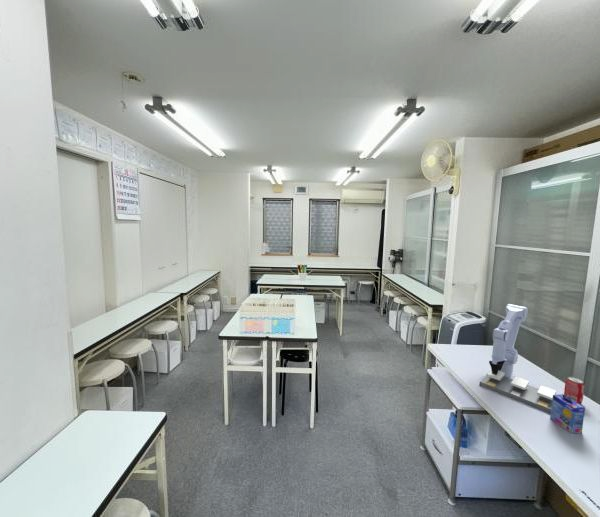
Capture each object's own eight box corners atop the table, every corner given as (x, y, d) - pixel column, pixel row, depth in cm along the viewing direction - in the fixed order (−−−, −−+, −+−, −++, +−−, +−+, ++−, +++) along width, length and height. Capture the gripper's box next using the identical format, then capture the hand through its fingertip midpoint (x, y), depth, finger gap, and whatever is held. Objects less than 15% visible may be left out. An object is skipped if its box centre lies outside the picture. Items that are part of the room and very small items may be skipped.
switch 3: (540, 387, 147) (541, 385, 147) (555, 392, 142) (556, 390, 142) (536, 394, 140) (537, 392, 140) (552, 400, 136) (552, 398, 136)
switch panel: (489, 374, 167) (490, 370, 167) (560, 400, 143) (561, 396, 143) (479, 384, 156) (480, 380, 156) (555, 415, 132) (555, 410, 131)
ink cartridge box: (548, 418, 129) (552, 389, 128) (559, 417, 130) (563, 389, 128) (571, 433, 120) (575, 403, 118) (582, 433, 120) (587, 402, 118)
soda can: (576, 398, 145) (579, 377, 143) (585, 407, 138) (588, 384, 137) (560, 395, 147) (563, 374, 146) (567, 403, 140) (571, 381, 139)
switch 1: (492, 370, 163) (492, 368, 163) (504, 374, 159) (505, 372, 159) (487, 376, 157) (487, 374, 157) (499, 380, 152) (500, 378, 152)
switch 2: (515, 378, 155) (515, 376, 155) (528, 383, 150) (529, 381, 150) (510, 384, 149) (511, 382, 148) (524, 389, 144) (524, 387, 144)
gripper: (503, 355, 148) (501, 379, 150) (510, 348, 158) (508, 370, 159) (488, 351, 154) (486, 373, 155) (496, 344, 163) (494, 366, 165)
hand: (496, 372), depth 158 cm, fingers open, 7 cm apart
